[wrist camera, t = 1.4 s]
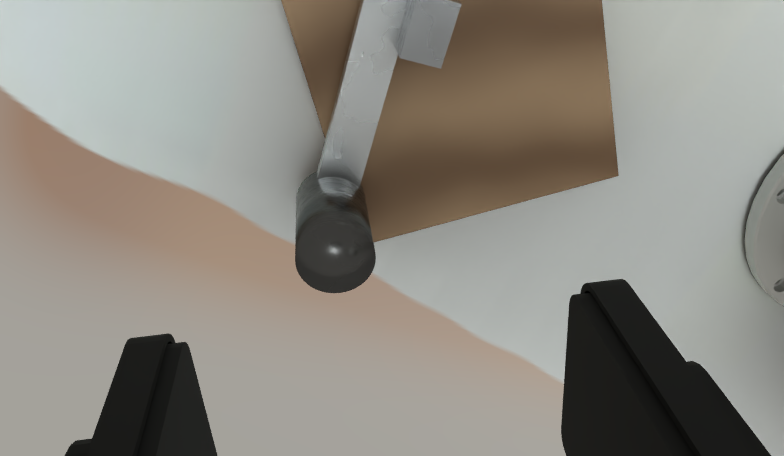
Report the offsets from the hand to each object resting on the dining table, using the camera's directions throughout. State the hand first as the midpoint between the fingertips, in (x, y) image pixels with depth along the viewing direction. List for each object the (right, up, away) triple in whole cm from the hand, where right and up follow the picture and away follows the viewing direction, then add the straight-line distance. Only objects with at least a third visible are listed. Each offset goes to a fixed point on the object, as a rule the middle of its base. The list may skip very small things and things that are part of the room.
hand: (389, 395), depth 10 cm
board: (+2, +11, +20) cm, 23 cm away
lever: (-1, +9, +18) cm, 20 cm away
